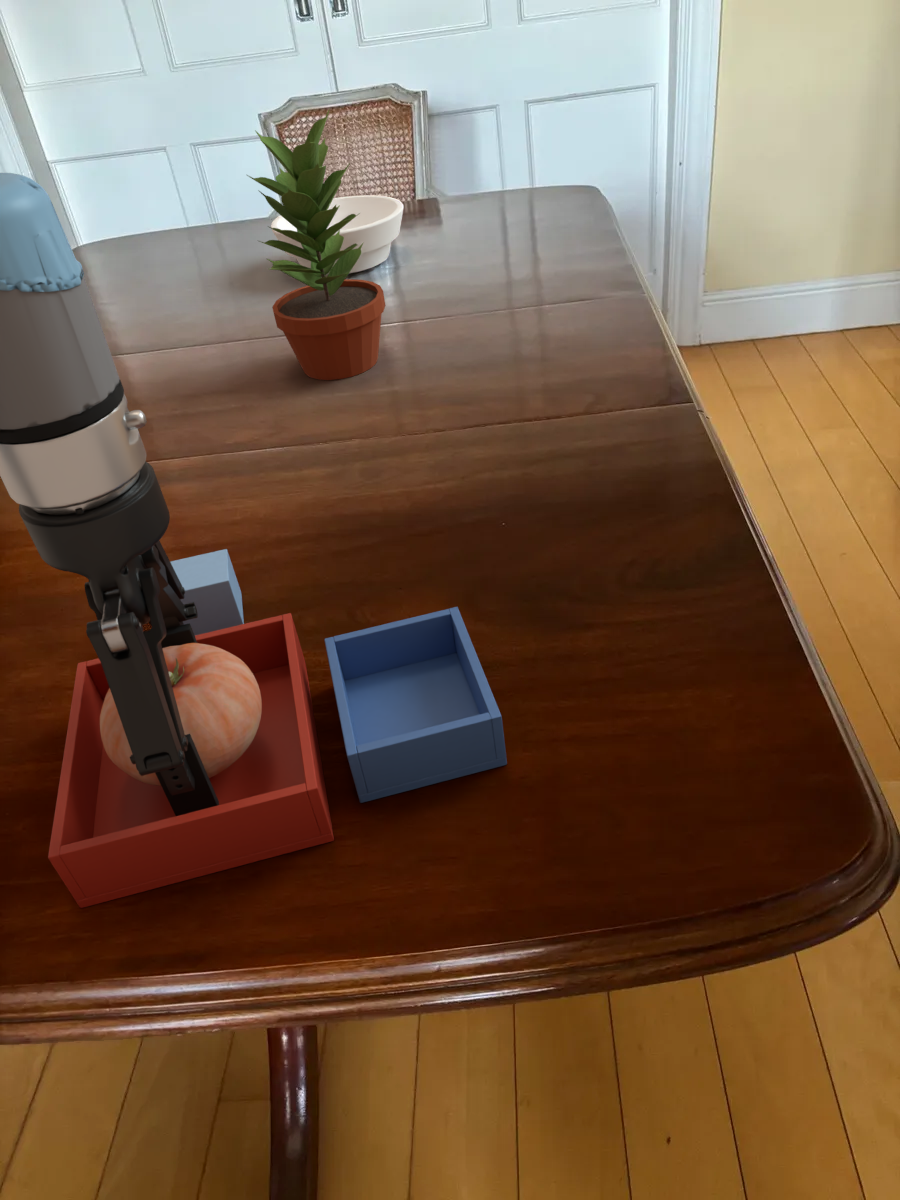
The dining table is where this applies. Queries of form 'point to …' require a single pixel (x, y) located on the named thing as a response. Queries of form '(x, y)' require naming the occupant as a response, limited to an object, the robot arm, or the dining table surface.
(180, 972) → the dining table surface
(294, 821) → the red bin
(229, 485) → the dining table surface
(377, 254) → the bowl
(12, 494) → the robot arm
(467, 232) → the dining table surface
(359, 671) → the blue bin
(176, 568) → the blue block
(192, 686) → the tomato
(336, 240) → the potted plant
